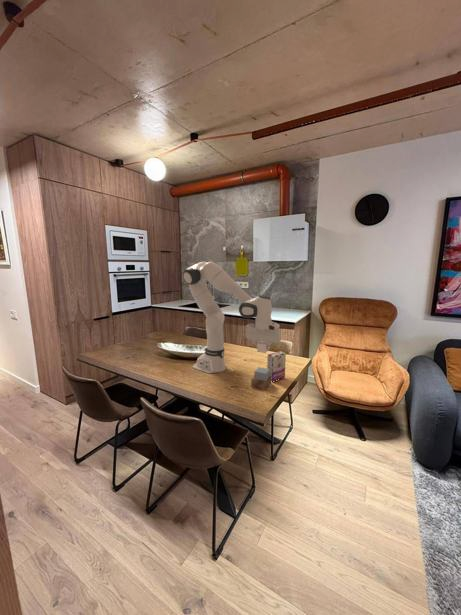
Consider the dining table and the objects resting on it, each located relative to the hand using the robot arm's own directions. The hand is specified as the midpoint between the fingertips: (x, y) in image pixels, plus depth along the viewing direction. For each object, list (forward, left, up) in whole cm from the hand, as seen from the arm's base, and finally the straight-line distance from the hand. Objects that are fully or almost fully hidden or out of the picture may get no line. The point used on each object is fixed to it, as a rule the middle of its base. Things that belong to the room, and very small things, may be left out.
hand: (262, 348), depth 146 cm
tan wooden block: (0, 0, -23) cm, 23 cm away
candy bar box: (+5, +12, -23) cm, 26 cm away
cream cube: (0, 0, -2) cm, 2 cm away
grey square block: (0, 0, -18) cm, 18 cm away
